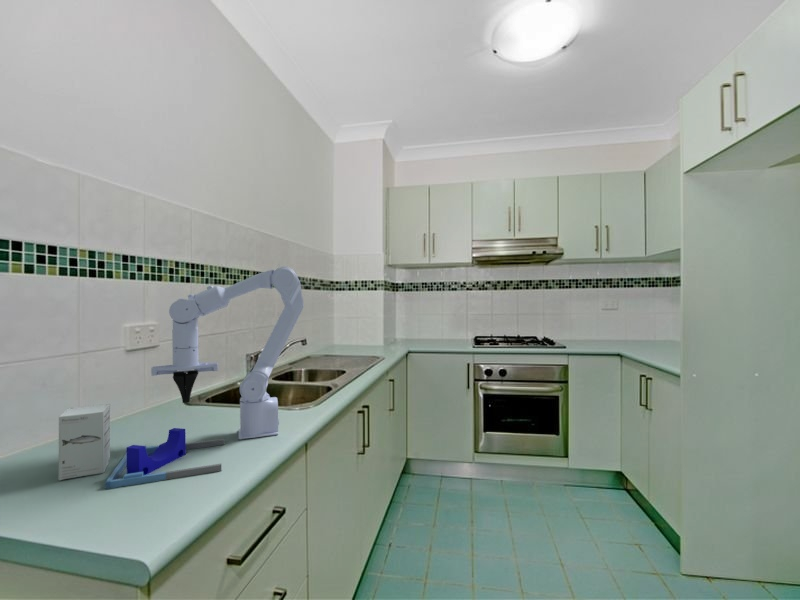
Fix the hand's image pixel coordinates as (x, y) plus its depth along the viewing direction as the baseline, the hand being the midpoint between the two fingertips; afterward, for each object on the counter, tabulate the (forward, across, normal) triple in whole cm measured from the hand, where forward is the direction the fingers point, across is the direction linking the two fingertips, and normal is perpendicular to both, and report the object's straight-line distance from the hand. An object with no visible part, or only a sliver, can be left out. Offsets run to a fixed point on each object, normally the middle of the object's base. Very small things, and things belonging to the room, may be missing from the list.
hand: (186, 401), depth 99 cm
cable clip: (+10, +4, +14) cm, 18 cm away
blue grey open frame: (+9, +1, +15) cm, 18 cm away
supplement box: (+10, +17, +12) cm, 23 cm away
